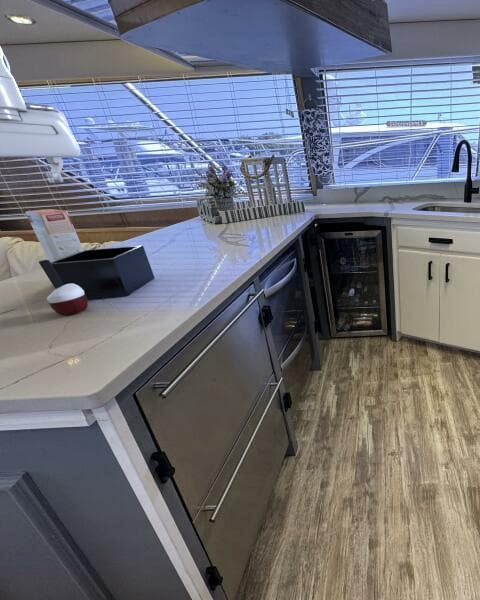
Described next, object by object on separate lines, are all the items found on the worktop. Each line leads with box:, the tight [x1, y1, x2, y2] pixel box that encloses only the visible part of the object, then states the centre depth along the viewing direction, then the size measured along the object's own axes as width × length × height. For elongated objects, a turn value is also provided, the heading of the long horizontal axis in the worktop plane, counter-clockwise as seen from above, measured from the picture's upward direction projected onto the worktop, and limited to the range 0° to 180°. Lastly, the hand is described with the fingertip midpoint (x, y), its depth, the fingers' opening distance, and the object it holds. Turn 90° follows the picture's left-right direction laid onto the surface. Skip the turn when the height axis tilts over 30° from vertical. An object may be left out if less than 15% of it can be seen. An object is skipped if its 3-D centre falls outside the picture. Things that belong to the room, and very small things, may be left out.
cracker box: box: [25, 208, 85, 262], centre depth 92 cm, size 14×6×21 cm, turn 58°
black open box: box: [50, 245, 156, 301], centre depth 87 cm, size 15×15×10 cm
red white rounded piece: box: [38, 259, 89, 316], centre depth 73 cm, size 10×6×12 cm, turn 35°
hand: (25, 184), depth 60 cm, fingers open, 8 cm apart
